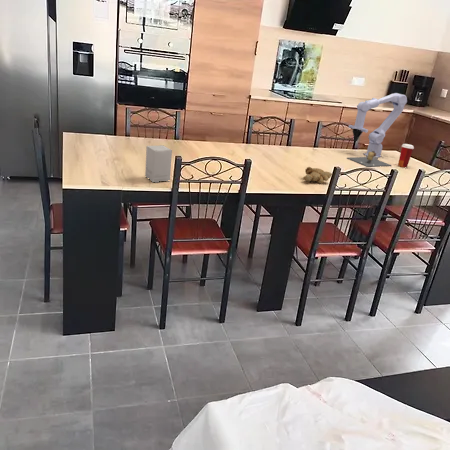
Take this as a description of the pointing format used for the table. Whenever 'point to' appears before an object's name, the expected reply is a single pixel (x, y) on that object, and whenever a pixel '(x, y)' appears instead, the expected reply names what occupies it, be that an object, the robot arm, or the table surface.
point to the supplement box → (158, 163)
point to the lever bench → (369, 161)
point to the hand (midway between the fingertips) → (355, 140)
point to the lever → (371, 155)
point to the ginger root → (316, 175)
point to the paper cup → (405, 155)
